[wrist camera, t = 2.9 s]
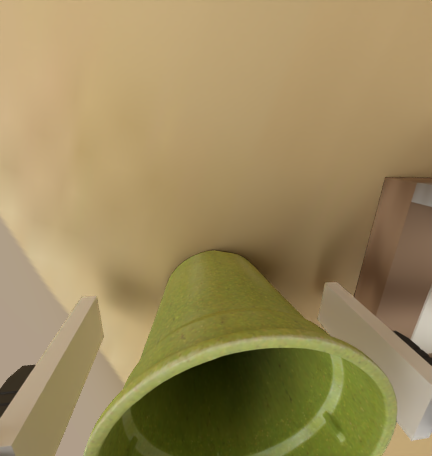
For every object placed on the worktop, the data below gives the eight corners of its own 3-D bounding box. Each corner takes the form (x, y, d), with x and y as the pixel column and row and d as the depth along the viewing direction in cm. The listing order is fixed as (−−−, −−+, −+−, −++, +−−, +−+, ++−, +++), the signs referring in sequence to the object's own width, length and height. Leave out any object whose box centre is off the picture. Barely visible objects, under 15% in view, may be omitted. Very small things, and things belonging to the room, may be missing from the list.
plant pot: (238, 189, 13) (332, 267, 5) (307, 300, 16) (431, 457, 8) (105, 279, 14) (-8, 477, 6) (196, 368, 17) (209, 571, 9)
